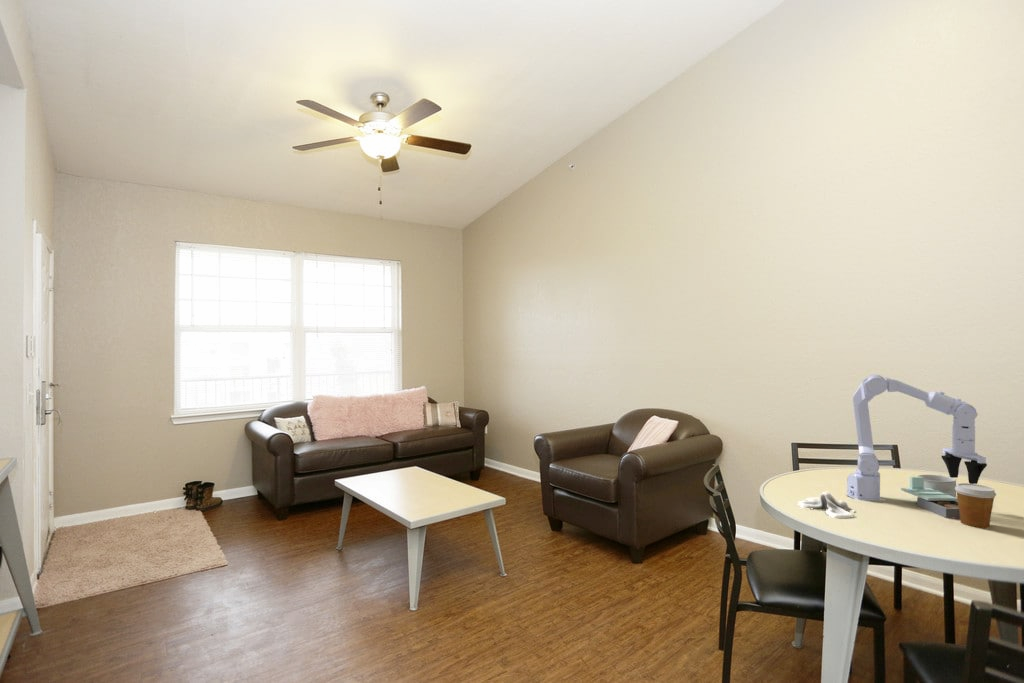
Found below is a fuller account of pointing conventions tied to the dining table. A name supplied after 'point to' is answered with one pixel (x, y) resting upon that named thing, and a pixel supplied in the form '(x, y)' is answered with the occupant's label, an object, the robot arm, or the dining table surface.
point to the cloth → (828, 505)
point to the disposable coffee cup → (975, 504)
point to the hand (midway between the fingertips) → (963, 480)
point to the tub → (939, 508)
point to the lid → (926, 491)
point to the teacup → (940, 483)
